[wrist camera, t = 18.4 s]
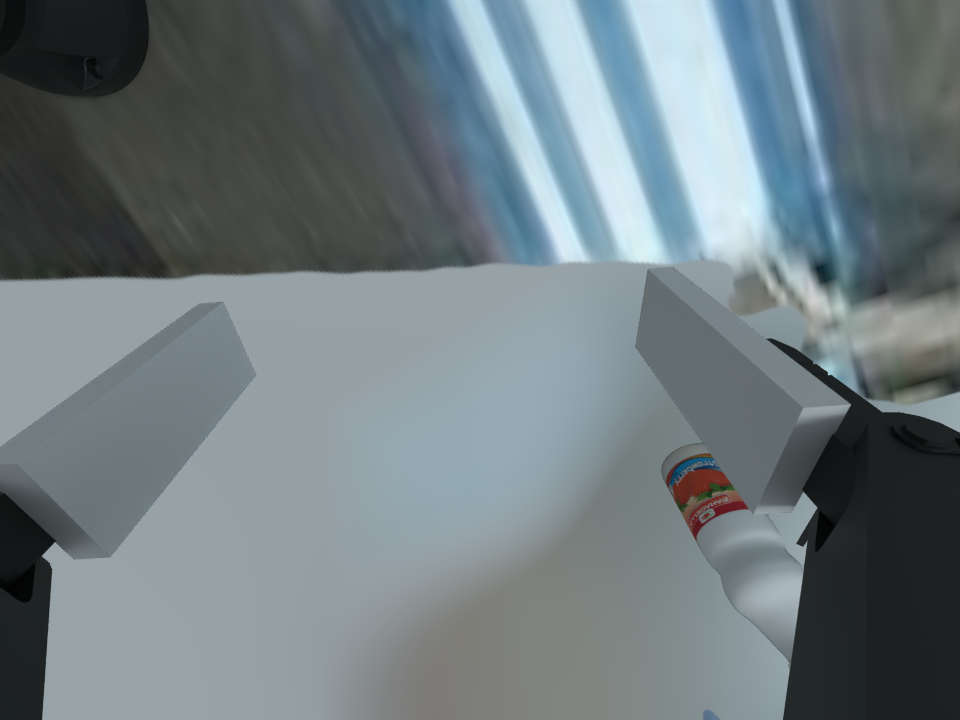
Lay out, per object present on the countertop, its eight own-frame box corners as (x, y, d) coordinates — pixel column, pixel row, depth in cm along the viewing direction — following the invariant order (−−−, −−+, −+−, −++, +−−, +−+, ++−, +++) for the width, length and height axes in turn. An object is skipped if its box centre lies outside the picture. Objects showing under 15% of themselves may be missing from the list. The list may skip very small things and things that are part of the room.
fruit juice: (683, 491, 66) (803, 705, 42) (647, 467, 62) (755, 685, 39) (733, 458, 62) (896, 674, 38) (697, 431, 59) (852, 649, 35)
